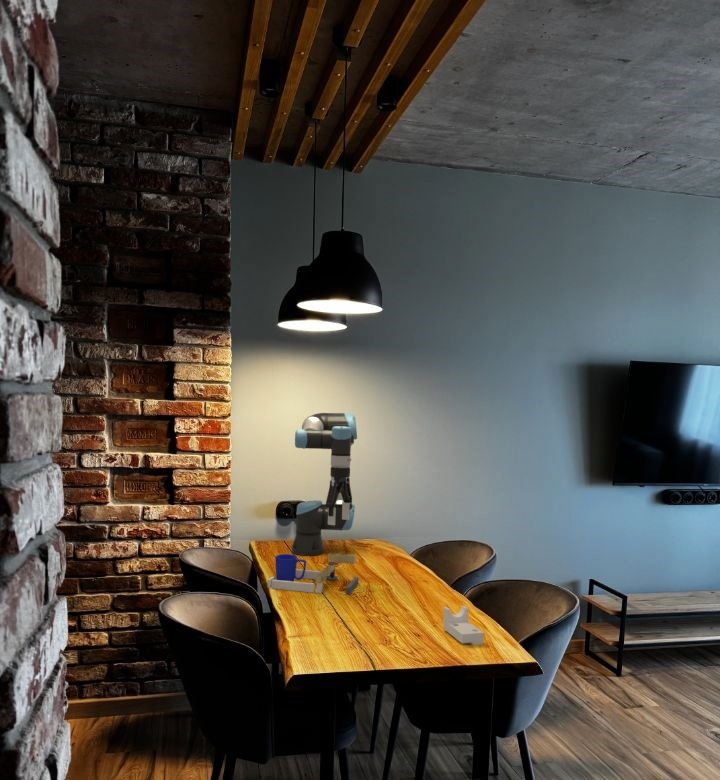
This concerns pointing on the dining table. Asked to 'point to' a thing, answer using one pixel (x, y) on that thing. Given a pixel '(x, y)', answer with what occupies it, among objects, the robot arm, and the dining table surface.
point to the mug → (287, 567)
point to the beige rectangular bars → (297, 585)
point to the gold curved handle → (331, 567)
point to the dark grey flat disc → (332, 578)
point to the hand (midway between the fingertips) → (338, 522)
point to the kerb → (352, 585)
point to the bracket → (462, 627)
